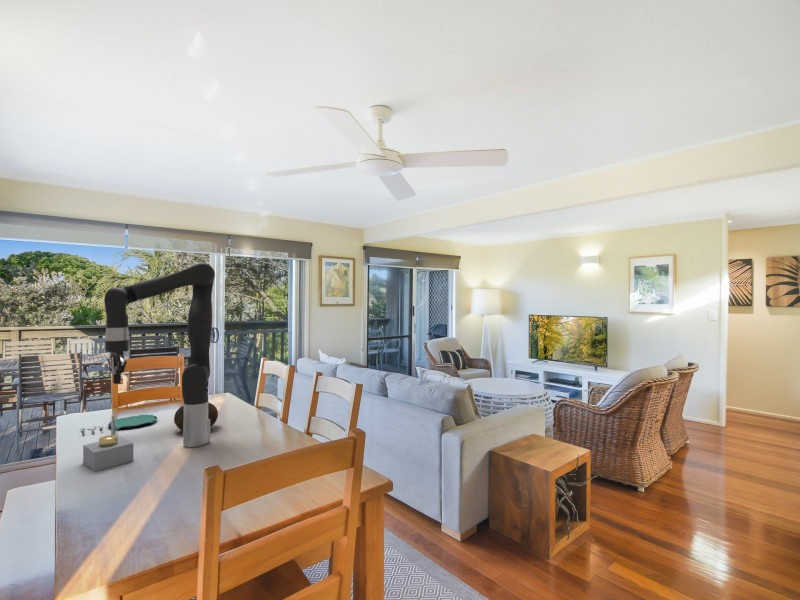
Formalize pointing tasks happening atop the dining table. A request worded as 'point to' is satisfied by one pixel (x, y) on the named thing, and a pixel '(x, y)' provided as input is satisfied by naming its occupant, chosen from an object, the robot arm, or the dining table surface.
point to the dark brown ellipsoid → (211, 415)
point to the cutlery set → (131, 422)
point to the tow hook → (112, 426)
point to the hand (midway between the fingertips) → (116, 383)
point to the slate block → (107, 454)
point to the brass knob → (108, 441)
